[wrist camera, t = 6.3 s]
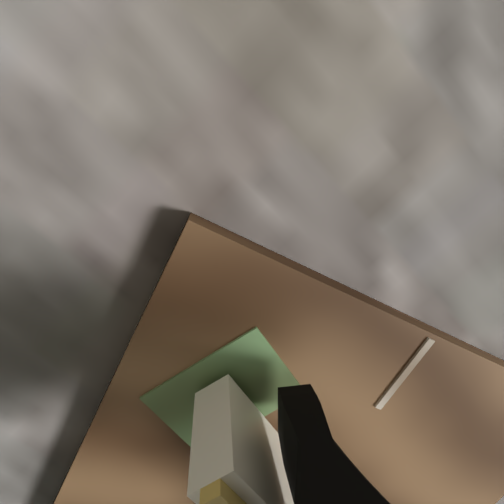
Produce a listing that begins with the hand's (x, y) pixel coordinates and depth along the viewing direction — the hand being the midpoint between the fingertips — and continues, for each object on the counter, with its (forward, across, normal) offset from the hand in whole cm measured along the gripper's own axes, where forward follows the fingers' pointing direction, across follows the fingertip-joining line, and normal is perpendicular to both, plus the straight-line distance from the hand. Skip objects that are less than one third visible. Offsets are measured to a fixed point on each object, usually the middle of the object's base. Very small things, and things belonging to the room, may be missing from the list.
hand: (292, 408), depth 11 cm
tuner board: (+2, -1, +6) cm, 7 cm away
